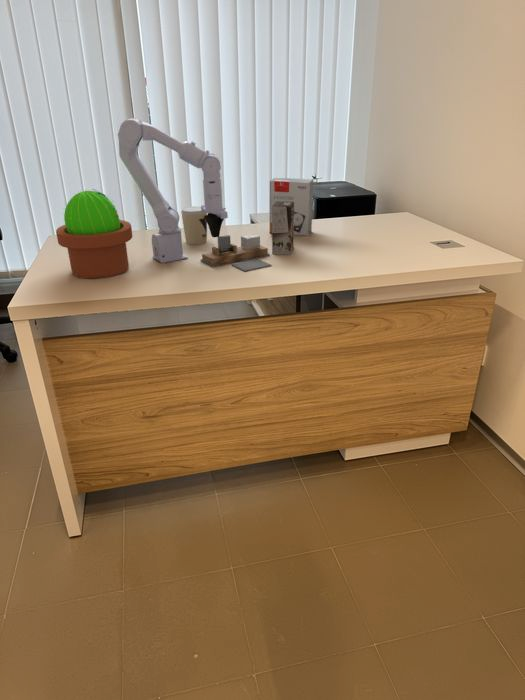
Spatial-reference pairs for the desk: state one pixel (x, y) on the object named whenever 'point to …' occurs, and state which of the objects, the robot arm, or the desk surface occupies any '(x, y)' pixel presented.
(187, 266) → the desk surface
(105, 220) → the potted cactus
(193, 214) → the coffee cup
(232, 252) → the body
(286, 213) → the coffee box
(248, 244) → the brushed metal cube
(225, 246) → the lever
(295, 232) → the hard drive box
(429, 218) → the desk surface
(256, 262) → the mat
